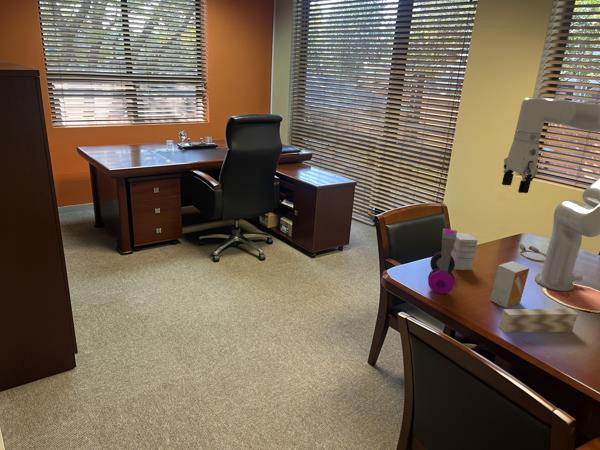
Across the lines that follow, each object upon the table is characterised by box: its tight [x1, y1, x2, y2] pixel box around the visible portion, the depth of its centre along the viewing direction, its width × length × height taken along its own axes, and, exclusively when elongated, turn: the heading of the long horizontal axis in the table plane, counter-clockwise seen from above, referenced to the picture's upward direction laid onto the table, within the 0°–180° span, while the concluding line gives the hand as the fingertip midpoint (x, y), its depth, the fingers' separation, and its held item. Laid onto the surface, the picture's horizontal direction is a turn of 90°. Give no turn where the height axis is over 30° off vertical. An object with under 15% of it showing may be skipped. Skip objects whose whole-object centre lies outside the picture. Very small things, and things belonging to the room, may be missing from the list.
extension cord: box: [519, 243, 546, 263], centre depth 191 cm, size 12×16×2 cm
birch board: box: [498, 308, 578, 333], centre depth 133 cm, size 22×3×6 cm, turn 97°
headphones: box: [427, 228, 458, 295], centre depth 156 cm, size 21×9×20 cm, turn 162°
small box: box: [490, 261, 530, 309], centre depth 147 cm, size 8×6×13 cm
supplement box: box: [451, 232, 478, 271], centre depth 173 cm, size 7×7×13 cm
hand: (514, 188), depth 149 cm, fingers open, 9 cm apart
